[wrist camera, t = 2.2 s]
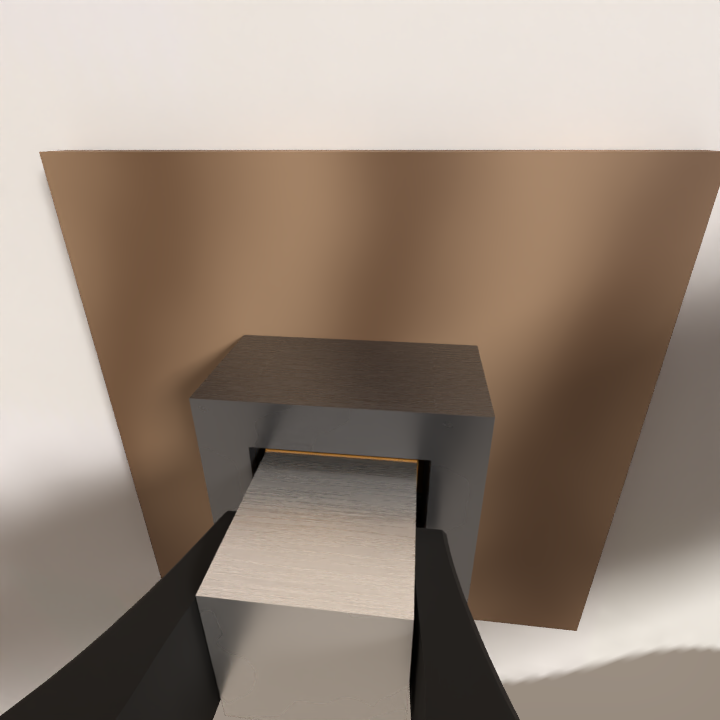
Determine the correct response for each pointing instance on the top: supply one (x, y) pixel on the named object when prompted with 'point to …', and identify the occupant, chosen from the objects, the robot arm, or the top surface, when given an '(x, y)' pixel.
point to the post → (316, 590)
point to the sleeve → (353, 420)
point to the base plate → (400, 313)
